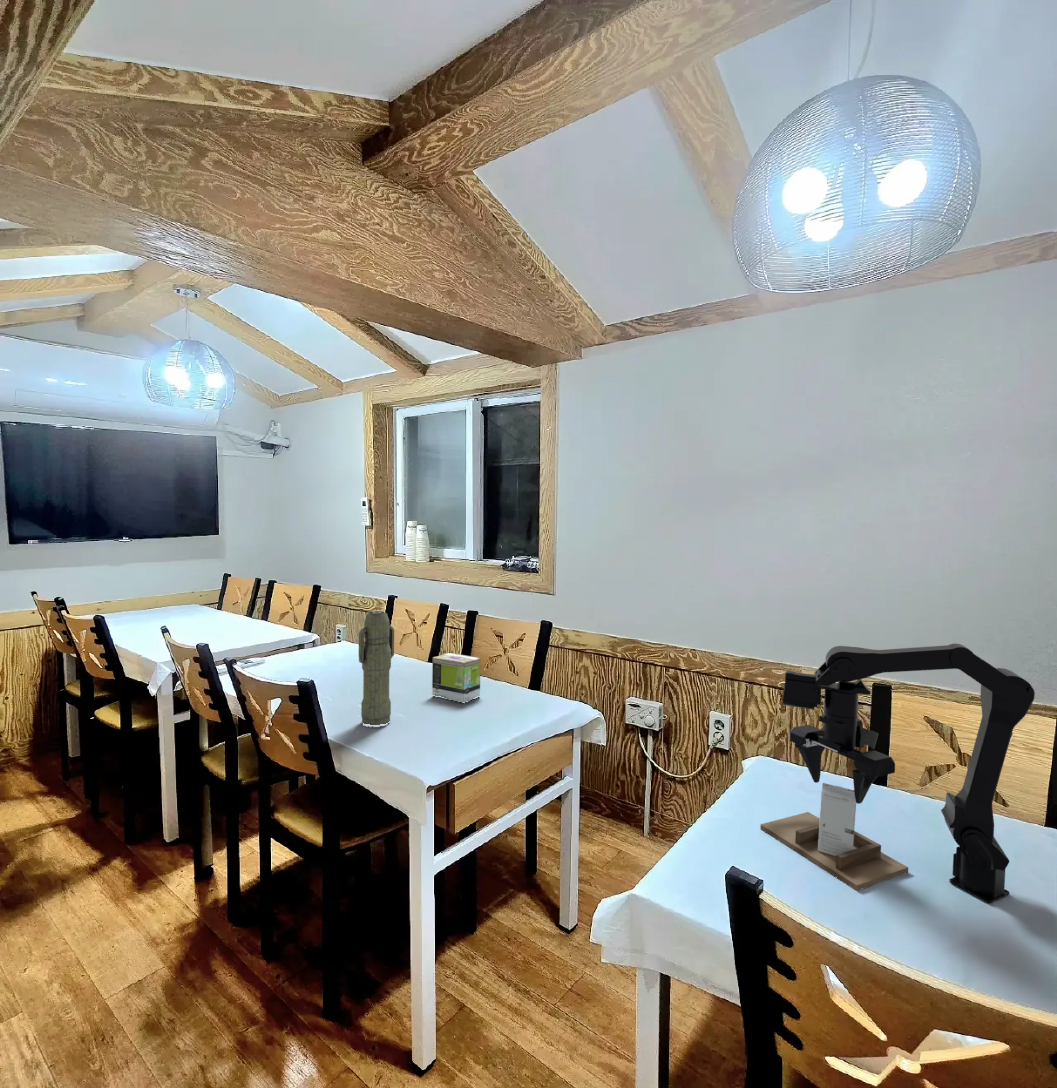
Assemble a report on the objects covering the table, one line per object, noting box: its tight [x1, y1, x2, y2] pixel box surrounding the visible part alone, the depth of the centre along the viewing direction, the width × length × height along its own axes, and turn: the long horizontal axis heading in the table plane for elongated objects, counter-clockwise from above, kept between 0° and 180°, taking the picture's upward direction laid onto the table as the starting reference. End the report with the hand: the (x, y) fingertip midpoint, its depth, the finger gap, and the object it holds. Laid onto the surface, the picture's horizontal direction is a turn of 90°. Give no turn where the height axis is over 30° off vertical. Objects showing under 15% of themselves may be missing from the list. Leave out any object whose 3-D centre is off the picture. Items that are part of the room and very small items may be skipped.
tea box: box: [431, 652, 481, 702], centre depth 208 cm, size 15×10×15 cm, turn 58°
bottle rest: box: [760, 811, 909, 891], centre depth 114 cm, size 22×14×4 cm, turn 24°
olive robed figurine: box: [358, 610, 395, 725], centre depth 179 cm, size 9×12×35 cm
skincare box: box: [818, 782, 857, 856], centre depth 111 cm, size 6×4×12 cm
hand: (837, 792), depth 111 cm, fingers open, 9 cm apart
